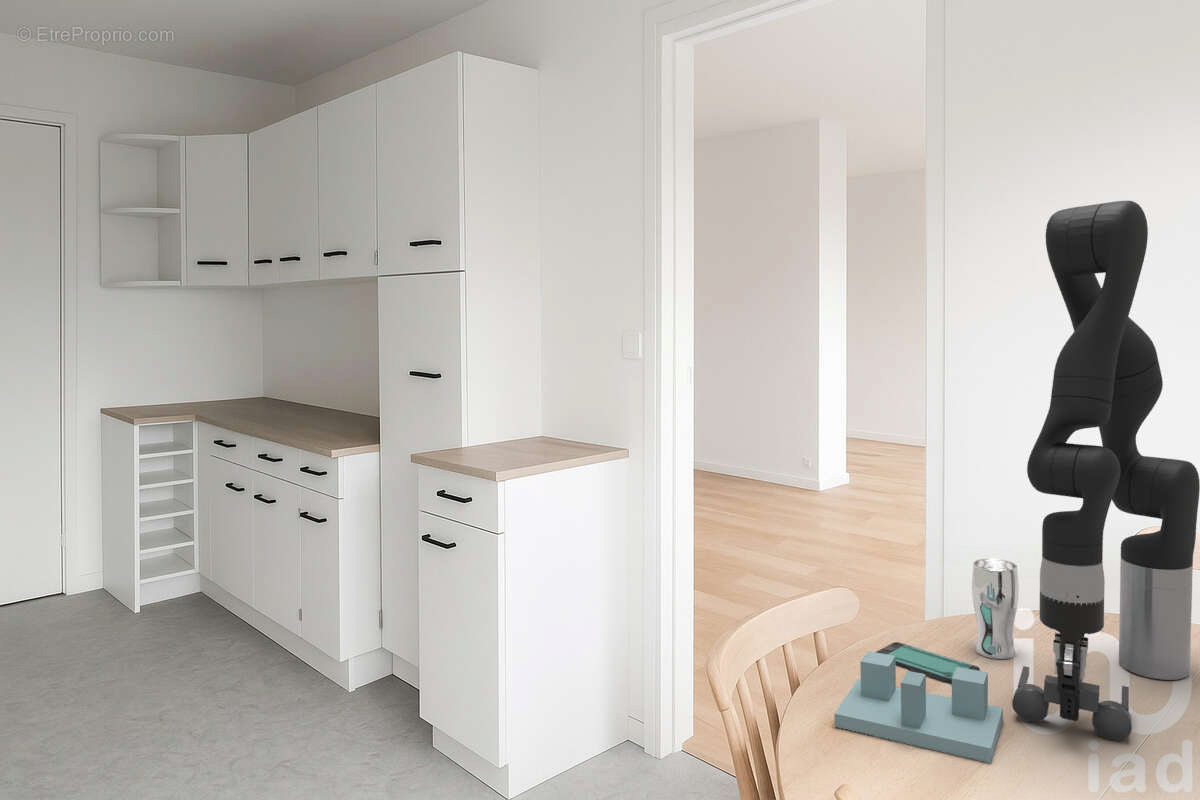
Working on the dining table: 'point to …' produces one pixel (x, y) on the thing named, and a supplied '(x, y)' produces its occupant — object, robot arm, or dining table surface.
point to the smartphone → (925, 661)
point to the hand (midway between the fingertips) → (1070, 713)
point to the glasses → (1107, 715)
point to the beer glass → (995, 606)
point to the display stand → (922, 710)
